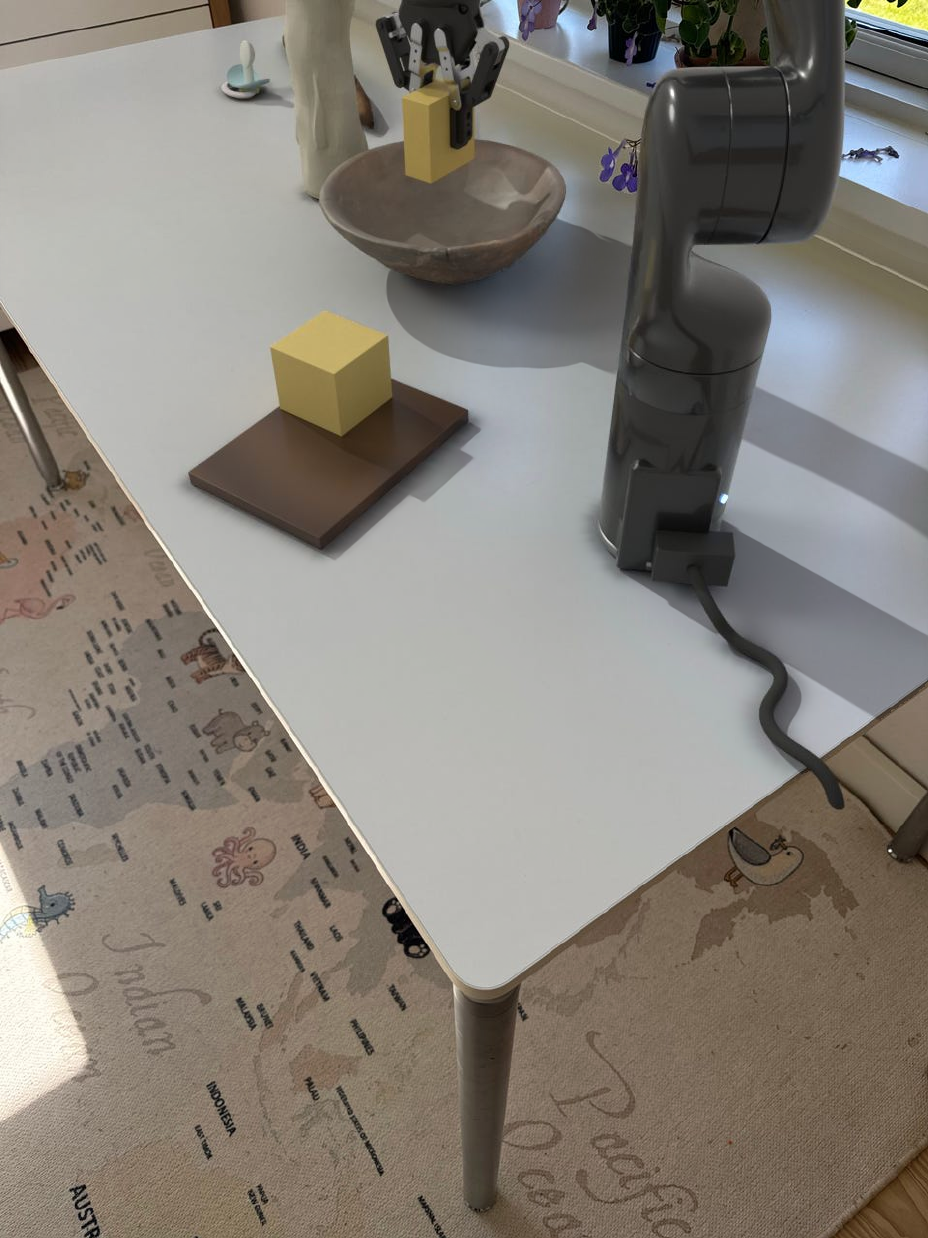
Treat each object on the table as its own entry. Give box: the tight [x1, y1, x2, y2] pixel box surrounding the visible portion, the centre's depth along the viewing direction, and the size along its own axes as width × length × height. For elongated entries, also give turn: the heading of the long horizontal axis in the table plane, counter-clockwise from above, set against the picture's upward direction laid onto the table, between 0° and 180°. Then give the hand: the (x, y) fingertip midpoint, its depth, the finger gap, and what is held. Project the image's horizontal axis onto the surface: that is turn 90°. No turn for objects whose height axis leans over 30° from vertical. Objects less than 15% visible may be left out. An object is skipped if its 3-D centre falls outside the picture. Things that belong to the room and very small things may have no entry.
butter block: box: [269, 310, 392, 436], centre depth 86 cm, size 7×7×6 cm
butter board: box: [187, 377, 469, 550], centre depth 85 cm, size 20×14×1 cm
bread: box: [281, 34, 375, 130], centre depth 140 cm, size 38×5×5 cm, turn 25°
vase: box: [283, 0, 370, 200], centre depth 108 cm, size 9×8×30 cm
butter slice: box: [401, 77, 474, 183], centre depth 96 cm, size 7×3×7 cm, turn 143°
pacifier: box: [221, 39, 271, 99], centre depth 138 cm, size 7×6×6 cm
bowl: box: [318, 139, 567, 285], centre depth 104 cm, size 25×25×8 cm
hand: (443, 140), depth 98 cm, fingers closed on butter slice, 3 cm apart
